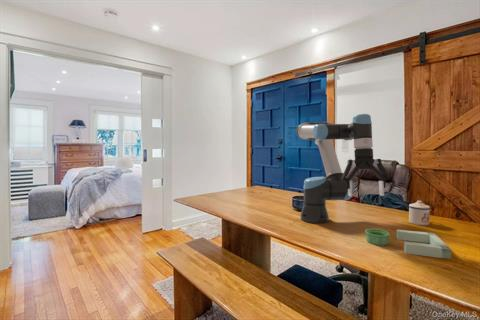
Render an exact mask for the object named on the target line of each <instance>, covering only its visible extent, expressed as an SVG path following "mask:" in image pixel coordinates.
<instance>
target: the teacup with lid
mask: <svg viewBox="0 0 480 320" xmlns="http://www.w3.org/2000/svg"><path fill="white" fill-rule="evenodd" d="M408 210H409V211H408V223H411V225H416V226H429V225H430V214H431V211H430V210H431V207H430V206H429V205H427V204H425V203H424V202H423V201H422V200H417V201H416V202H414V203H409V205H408Z"/></svg>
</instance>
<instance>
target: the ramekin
mask: <svg viewBox="0 0 480 320" xmlns="http://www.w3.org/2000/svg"><path fill="white" fill-rule="evenodd" d="M364 232H365V238H366V239H365V240H366V242H367V243H369V244H371V245H374V246H375V245H376V246H383V247H384V246H387V245H389V239H390V234H391V233H390V232H389V231H387V230H384V229H380V228H367V229H365V231H364Z"/></svg>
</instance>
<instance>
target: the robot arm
mask: <svg viewBox="0 0 480 320" xmlns="http://www.w3.org/2000/svg"><path fill="white" fill-rule="evenodd" d="M371 118H372V117H371V115H370V114H369V113H361V114H356V115H353V117H352V121H351V122H352V123H332V122H330V121H310V122H309V121H307V122H306V121H305V122H302V123H300V124H299V125H298V126H297V127H296V130H295V131H296V132H295V133H296V136H297V137H298V138H300V139H301V140H304V141H314V143H315V145H317V146H318V150H319V153H320V157H321V160H322V164H323V165H322V166H323V168H324V172H325V175H326V176H312V177H308V178H305V179H304V181H303V207H302V209H301V212H300V220H301V221H302V222H305V223H311V224H323V223H328V222H329V221H330V215H329V212H328V210H327V205H326V203H327V202H326V201H347V200H348V201H349V200H350V199H351V198H352V197H353V195H354V191H355V184H354V181H353V180H352V179H353V178H354V176H355V175H356V174H357V172H358V171H359V170H370V171H371V172H372V173H373V174H374V175H375V176H376V177H377V178H378V193H379V196H381V197H385V188H386V187H387V185H386V181H388V180H390V179H391V177H390V175H389V173H388V172H387V171H386V168H385V167H384V164H383V163H382V159H381V158H376V159H374V149H373V146H374V145H373V126H372V125H373V124H372V119H371ZM334 140H343V141H352V140H353V148H354V152H353V153H354V159H351V158H350V159H347V164H346V167H345V169H344V171H343V172H342V169H341V168H342V167H341V165H340V162H339V159H338V156H337V152H336V150H335V147H334V144H333V142H334ZM354 164H355V166H354V168H353V169H352V170H351V168H352V166H353V165H354ZM374 164H376V166H377V168H378V169H377V168H376V167H375V165H374ZM350 171H351V172H350ZM349 172H350V173H349Z"/></svg>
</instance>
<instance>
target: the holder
mask: <svg viewBox="0 0 480 320" xmlns="http://www.w3.org/2000/svg"><path fill="white" fill-rule="evenodd" d="M396 239H397V240H398V241H404V242H403V251H404V253H405V254H407V255H408V254H409V255H415V256H424V257H430V258H432V257H433V258H438V259H447V260H451V258H452V249H451V248H450V247H449V245H447V244H446V243H445V242H444V241H443V240H442V239H441V238H440V237H439V236H438V235H437V234H436V233H434V232H427V231H426V232H425V231H414V230H405V229H396Z"/></svg>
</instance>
